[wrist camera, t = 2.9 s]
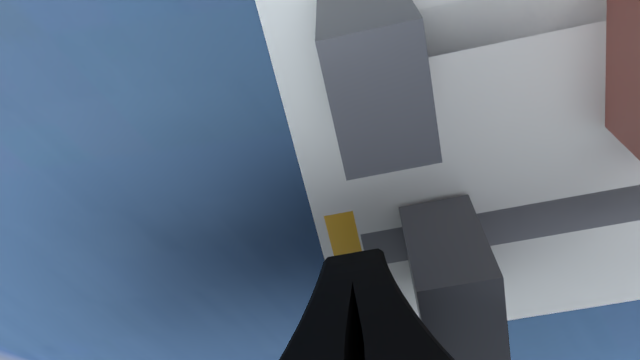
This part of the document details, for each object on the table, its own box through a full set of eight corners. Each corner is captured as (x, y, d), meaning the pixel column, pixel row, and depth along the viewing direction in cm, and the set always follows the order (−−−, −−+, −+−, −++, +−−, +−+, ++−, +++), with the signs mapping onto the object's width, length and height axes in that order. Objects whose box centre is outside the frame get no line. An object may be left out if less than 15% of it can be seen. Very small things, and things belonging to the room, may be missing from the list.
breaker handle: (467, 194, 13) (503, 277, 11) (477, 276, 15) (511, 369, 12) (398, 206, 14) (416, 291, 11) (413, 287, 15) (432, 381, 12)
